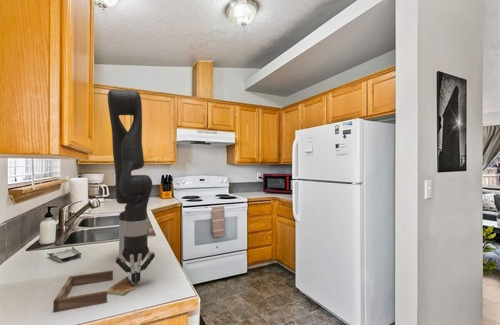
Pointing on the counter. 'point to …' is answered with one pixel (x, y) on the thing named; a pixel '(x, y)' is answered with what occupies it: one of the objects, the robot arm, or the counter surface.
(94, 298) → the wooden c-shaped bracket
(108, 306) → the counter surface
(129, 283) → the shard
